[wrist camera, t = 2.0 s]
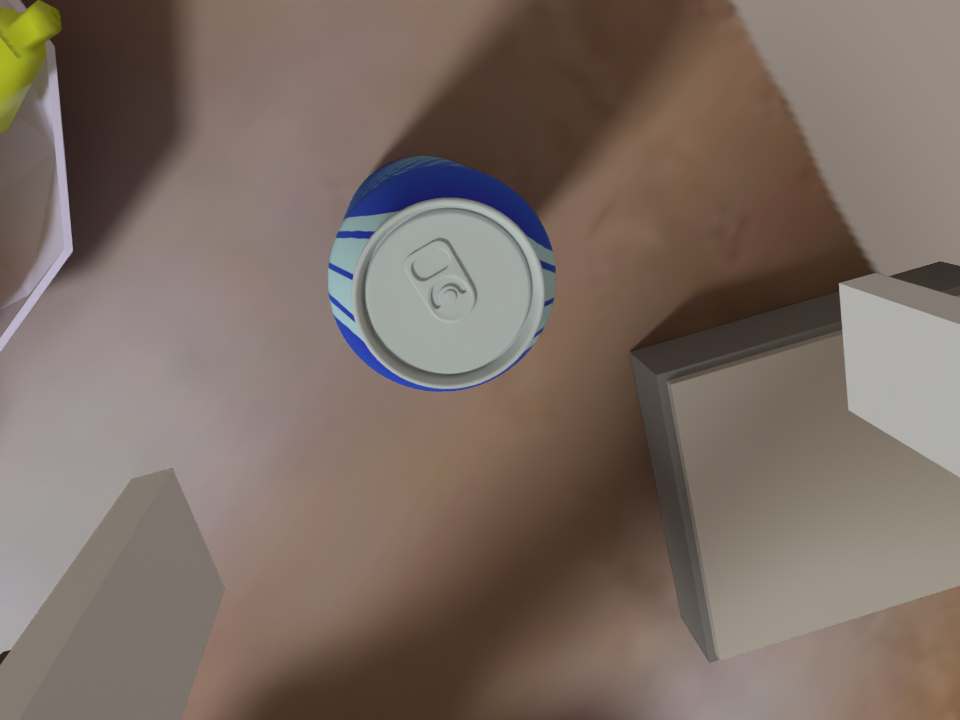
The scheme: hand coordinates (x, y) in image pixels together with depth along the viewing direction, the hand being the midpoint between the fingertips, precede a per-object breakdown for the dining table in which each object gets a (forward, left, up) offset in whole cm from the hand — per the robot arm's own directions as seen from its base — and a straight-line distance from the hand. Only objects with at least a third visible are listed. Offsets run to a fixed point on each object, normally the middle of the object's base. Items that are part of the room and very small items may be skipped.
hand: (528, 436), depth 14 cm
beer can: (0, 0, -27) cm, 27 cm away
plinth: (+20, -20, -27) cm, 39 cm away
